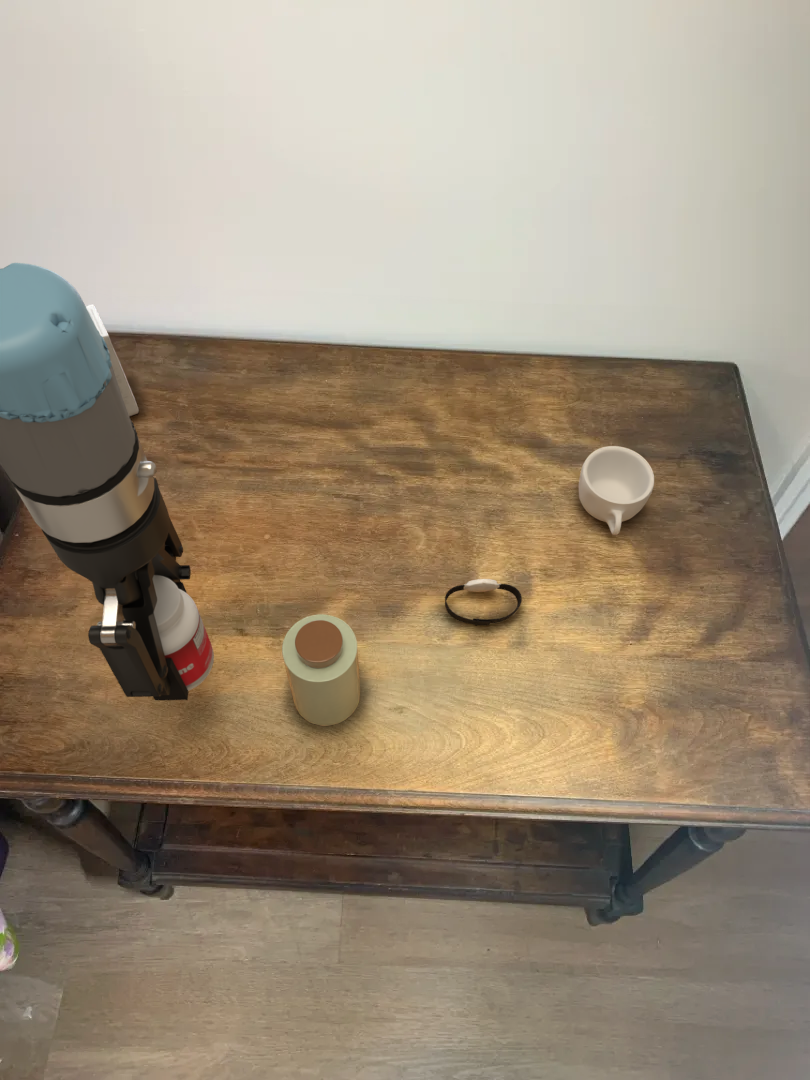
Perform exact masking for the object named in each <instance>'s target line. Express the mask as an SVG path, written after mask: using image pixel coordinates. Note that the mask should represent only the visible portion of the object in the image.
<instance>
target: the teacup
mask: <svg viewBox="0 0 810 1080" xmlns="http://www.w3.org/2000/svg"><path fill="white" fill-rule="evenodd" d="M579 473H580V474H579V479H578V498H579V501H580V504H581V506H582V507H583V508H584V510H585V512H587V513H588V514H589V515H590V516H592V517H593V518H595V519H596V520H598V521H601V522H604V523H606V524H607V525H608V529H609V530H610V534H611V535H613V536H618V535H619V534H620V532H621V527H622V522H625V521H628V520H630V519H632V518H633V517H635V516H636V515H637V514H638V513H639V512H640V511H641V510H642V509H643V508H644V507H645V505H646V504H647V502H648V501H649V499H650V497H651V495H652V493H653V490H654V488H655V487H654V486H655V475H654V471H653V468H652V467H651V465H650V464H649V462H648V461H647V460H646V459H645V457H643V456H642V455H641V454H639V453H638V452H636V451H634V449H633V450H632V449H631V448H627V447H623V446H620V445H619V446H618V445H608V446H603V447H600V448H597V449H596V450H594V451H592V452H591V453H590V454H589V455H588V456H587V457H586V459H585V460H584V462H583V464H582V466H581V469H580V472H579Z"/></svg>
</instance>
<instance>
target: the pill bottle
mask: <svg viewBox="0 0 810 1080" xmlns="http://www.w3.org/2000/svg"><path fill="white" fill-rule="evenodd" d="M153 583H154V587H155V591H156V596H157V603H156V607H155V610H154V616H155V620H156V623H157V627H158V631H159V635H160V639H161V643H162V647H163V651H164V655H165V658H172V660H173V662H174V664H175V666H176V668H177V670H178V672H179V674H180V676H181V678H182V680H183V682H184V684H185V686H186V687H187V689H188V691H192V690H193V689H195V688H197V687H198V686H200V685H201V684H202V683H203V682H204V681H205V680H206V679H207V677H208V676H209V675H210V673H211V671H212V670H213V667H214V666H213V665H214V661H215V655H214V654H215V653H214V648H213V645H212V642H211V640H210V637H209V635H208V632H207V629H206V626H205V624H204V622H203V618H202V617H201V614H200V612H199V608H198V606H197V604H196V602H195V601H194V599H193V598H192V597H191V595H190V594H188V592H187V591H186V592H187V593H186V592H184V591H182V590H181V589H178V587H177V585H176V584H175V583H174V582H173V581H172V580H170V579H169V578H166V577H164V576H160V575H154V576H153Z"/></svg>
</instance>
